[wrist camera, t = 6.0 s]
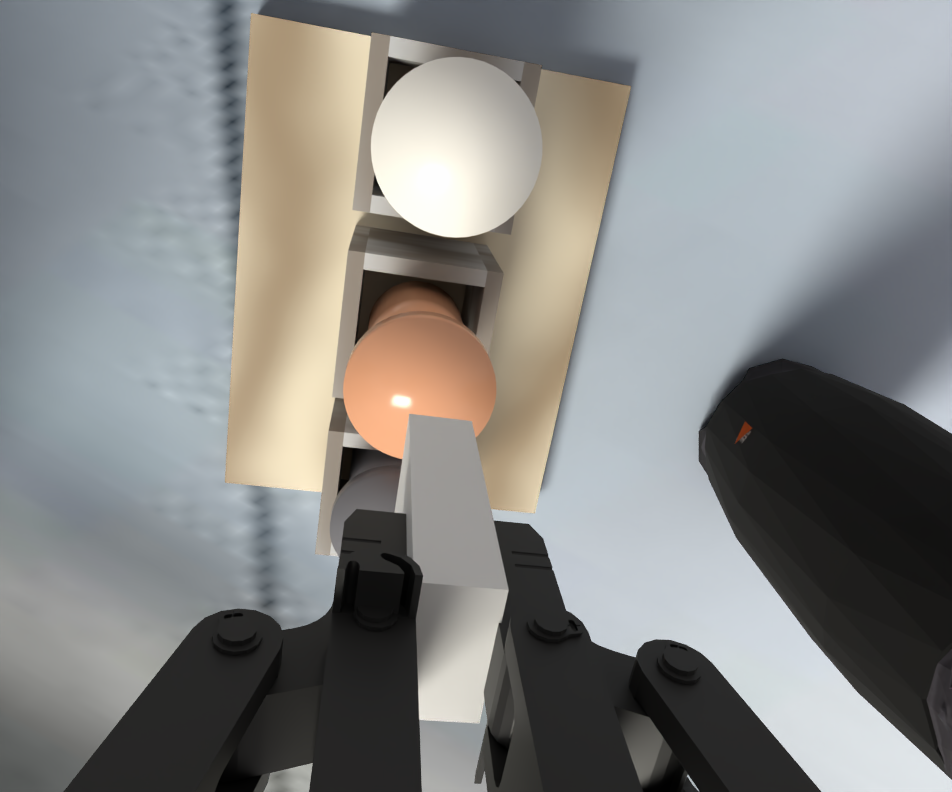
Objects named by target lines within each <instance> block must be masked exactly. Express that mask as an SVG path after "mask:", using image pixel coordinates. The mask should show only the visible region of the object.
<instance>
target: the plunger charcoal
mask: <svg viewBox="0 0 952 792" xmlns="http://www.w3.org/2000/svg"><path fill="white" fill-rule="evenodd" d="M401 465H402V459H399V458H396V457H393V456H390V455H388V454H385V453H383V452H381V451H379V450H370V449H361V448H353V452H352V460H351V468H350V476H349V481H348V482H347V483H346V485H345V486H344V487H343V488H342V489H341V491H340V492H339V493H338V495H337V497H336V499H335V502H334V504H333V508H332V513H331V520H330V538H331V542H332V545H333V547H334V550H335V551H336V553H337V555H338V556H339V558H340V551H341V543H342V536H343V528H344V521H345V520H346V519H347V518H348V517H349V516H350V515H351V514H352V513H353V512H354V511H355V510H356V509H364V510H374V511H384V512H395V505H396V499H397V492H398V485H399V479H400V472H401Z"/></svg>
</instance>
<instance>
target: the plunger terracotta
mask: <svg viewBox="0 0 952 792" xmlns="http://www.w3.org/2000/svg"><path fill="white" fill-rule="evenodd" d="M343 397H344V404H345V408H346V411H347V414H348V416H349V419H350V421H351V423H352V424H353V426H354V428H355V429H356V430H357V432H358V433H359V434H360V435H361V436H362V437H363V438H364V439H365V440H366V441H367V442H368V443H369V444H370V445H372V446H373V447H374V448H376V449H378V450H379V451H381V452H383V453H385V454H388V455H390V456H393V457H396V458H399V459H403V452H404V445H405V438H406V432H407V425H408V418H409V414H416V415H425V416H433V417H442V418H450V419H458V420H467V421H472V424H473V428H474V433H475V438H476V437H477V436H478V435H479V434H480V433H481V431H482V430H483V429H484V427H485V426H486V424H487V422H488V421H489V419H490V416H491V414H492V412H493V409H494V405H495V400H496V378H495V373H494V370H493V366H492V363H491V360H490V358H489V355H488V353H487V351H486V349H485V347H484V345H483V344H482V342H481V341H480V339H479V338H478V337H477V336H476V335H475V334H474V333H473V332H472V331H471V330H470V329H469V328H468V327H466V326H465V325H463V321H462V318H461V315H460V311H459V309H458V307H457V305H456V303H455V302H454V300H453V299H452V298H451V297H450V295H449V294H447V293H446V292H445V291H444V290H442V289H441V288H439V287H437V286H435V285H433V284H430V283H427V282H421V281H409V282H403V283H400V284H397V285H395V286H393V287H391V288H389V289H388V290H386V291H385V292H384V293H383V294H382V295H381V296H380V297H379V298H378V299H377V301H376V302H375V304H374V305H373V307H372V309H371V312H370V316H369V321H368V329H367V332H366V333H365V334H364V335H363V336H362V337H361V338H360V339H359V341H358V342H357V344H356V345H355V347H354V348H353V350H352V352H351V354H350V357H349V360H348V363H347V366H346V372H345V377H344V383H343Z"/></svg>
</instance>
